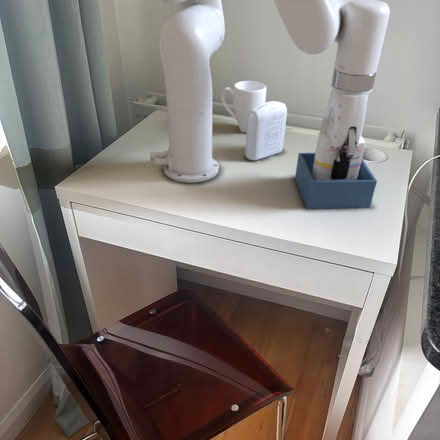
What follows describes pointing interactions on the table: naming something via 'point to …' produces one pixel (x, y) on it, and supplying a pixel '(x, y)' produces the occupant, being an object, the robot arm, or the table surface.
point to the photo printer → (265, 130)
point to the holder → (334, 187)
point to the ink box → (333, 157)
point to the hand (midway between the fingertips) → (335, 171)
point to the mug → (245, 100)
